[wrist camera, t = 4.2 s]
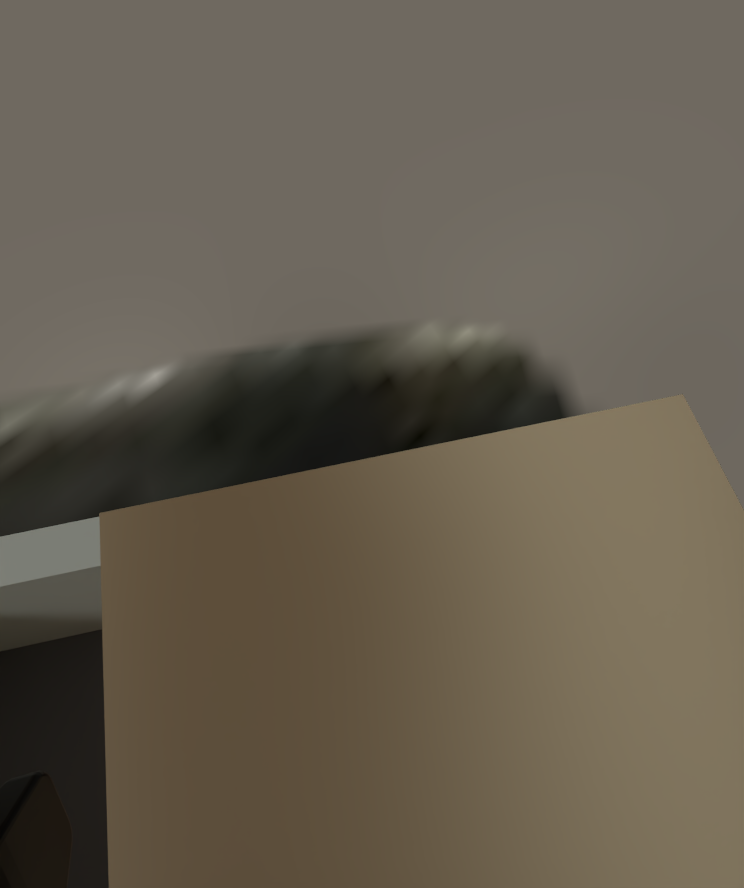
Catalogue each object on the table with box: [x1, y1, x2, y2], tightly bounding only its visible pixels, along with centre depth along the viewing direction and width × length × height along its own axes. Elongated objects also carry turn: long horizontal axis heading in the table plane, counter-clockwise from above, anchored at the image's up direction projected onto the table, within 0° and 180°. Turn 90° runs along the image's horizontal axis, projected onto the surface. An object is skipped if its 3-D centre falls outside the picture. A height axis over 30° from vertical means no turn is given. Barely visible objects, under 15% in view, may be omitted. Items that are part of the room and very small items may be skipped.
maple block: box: [99, 394, 744, 888], centre depth 9 cm, size 5×5×11 cm
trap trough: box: [0, 517, 109, 888], centre depth 12 cm, size 14×12×4 cm
